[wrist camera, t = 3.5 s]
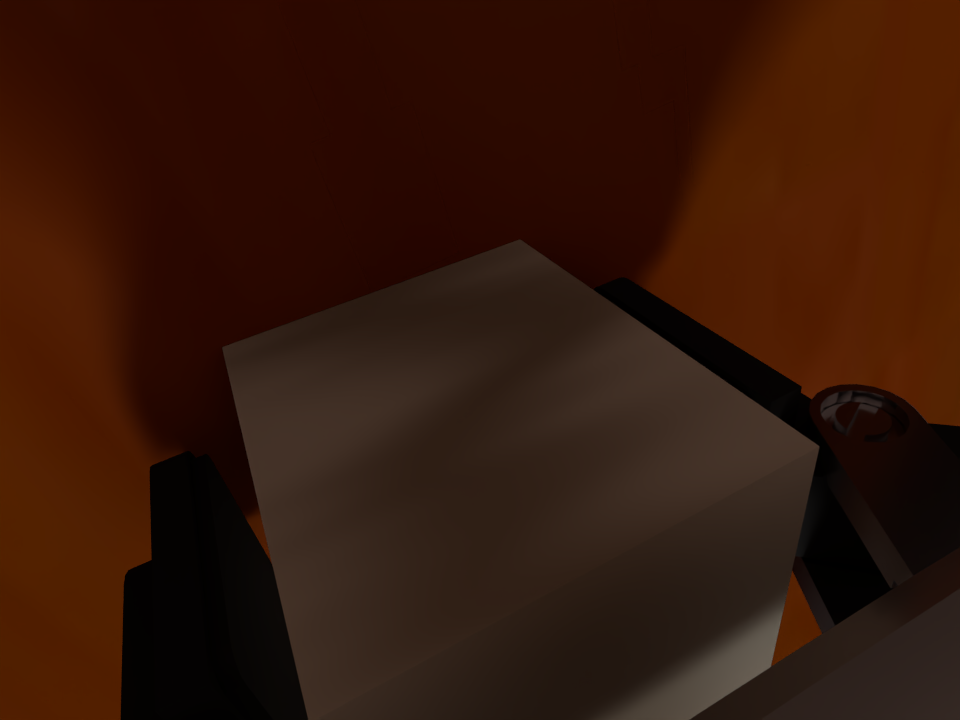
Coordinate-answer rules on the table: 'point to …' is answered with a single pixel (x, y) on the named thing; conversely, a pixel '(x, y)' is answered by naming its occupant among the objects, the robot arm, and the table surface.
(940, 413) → the table surface
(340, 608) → the maple block
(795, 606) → the table surface
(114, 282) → the table surface
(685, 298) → the table surface
